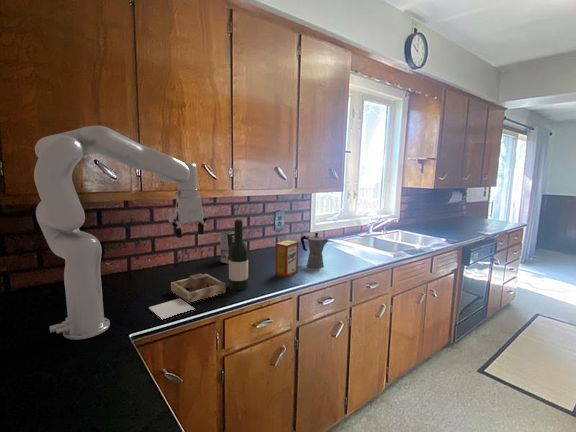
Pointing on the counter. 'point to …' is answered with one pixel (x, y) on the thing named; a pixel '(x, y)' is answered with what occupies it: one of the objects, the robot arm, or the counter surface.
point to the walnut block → (198, 282)
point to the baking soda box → (286, 258)
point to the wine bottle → (238, 260)
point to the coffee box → (226, 245)
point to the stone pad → (171, 308)
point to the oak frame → (215, 289)
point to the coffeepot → (314, 250)
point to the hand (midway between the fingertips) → (190, 235)
